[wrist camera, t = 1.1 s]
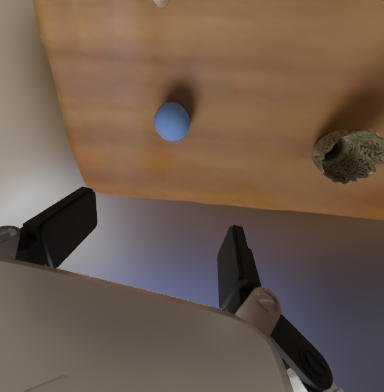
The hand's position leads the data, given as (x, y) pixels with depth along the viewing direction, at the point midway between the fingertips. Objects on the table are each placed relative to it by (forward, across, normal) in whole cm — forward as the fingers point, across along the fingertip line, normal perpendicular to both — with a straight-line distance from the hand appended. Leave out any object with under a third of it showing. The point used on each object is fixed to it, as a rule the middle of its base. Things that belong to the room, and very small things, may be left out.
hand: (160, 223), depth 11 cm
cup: (+24, -22, -6) cm, 33 cm away
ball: (+22, +4, -4) cm, 22 cm away
